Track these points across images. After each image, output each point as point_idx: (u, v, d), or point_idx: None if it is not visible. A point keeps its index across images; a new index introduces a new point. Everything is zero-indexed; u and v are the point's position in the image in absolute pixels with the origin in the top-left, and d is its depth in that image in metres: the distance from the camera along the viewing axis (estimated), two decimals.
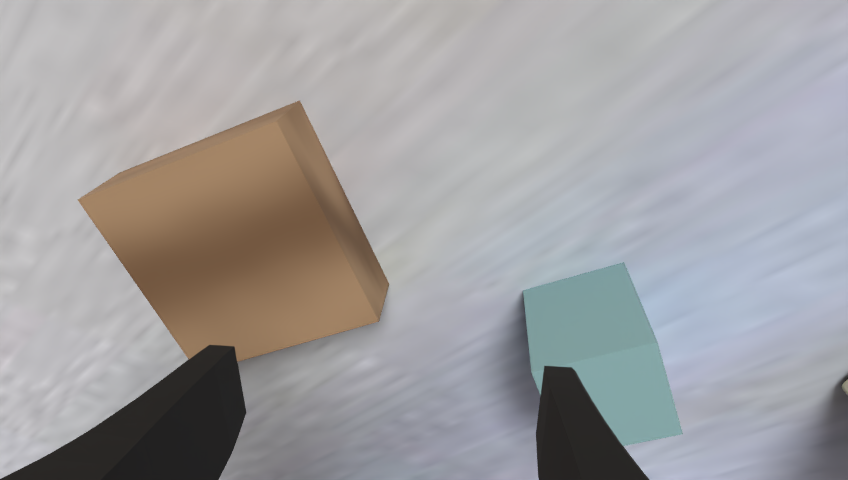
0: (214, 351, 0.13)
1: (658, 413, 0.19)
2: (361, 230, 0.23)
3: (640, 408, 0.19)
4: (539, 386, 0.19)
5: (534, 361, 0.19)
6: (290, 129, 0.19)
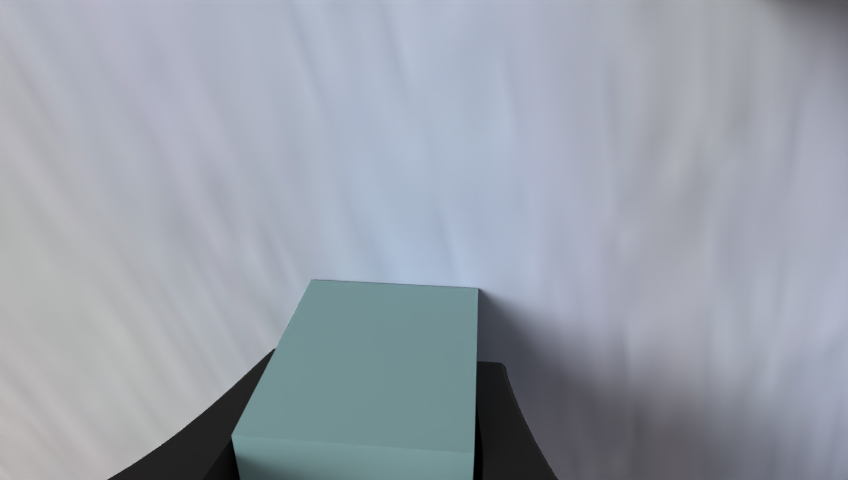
0: None
1: (403, 473, 0.10)
2: None
3: None
4: None
5: None
6: None
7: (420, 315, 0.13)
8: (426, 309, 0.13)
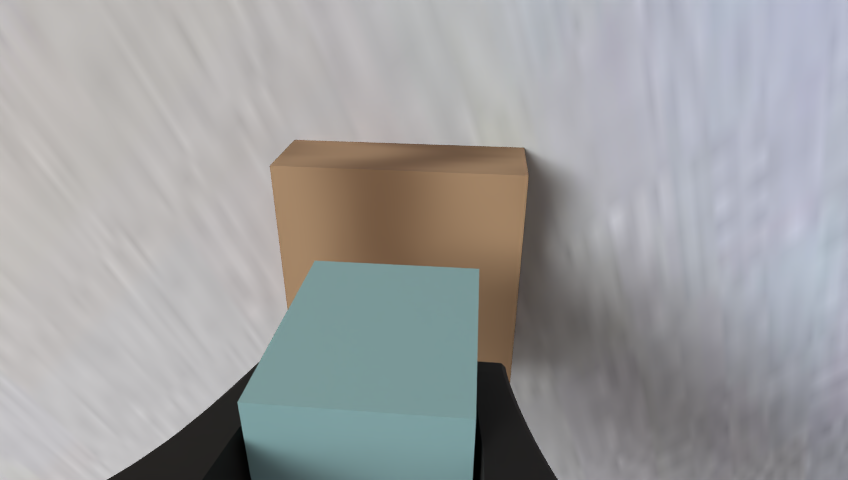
0: None
1: (406, 440, 0.10)
2: (445, 146, 0.20)
3: (384, 460, 0.10)
4: None
5: None
6: (292, 158, 0.19)
7: (422, 293, 0.13)
8: (428, 287, 0.13)
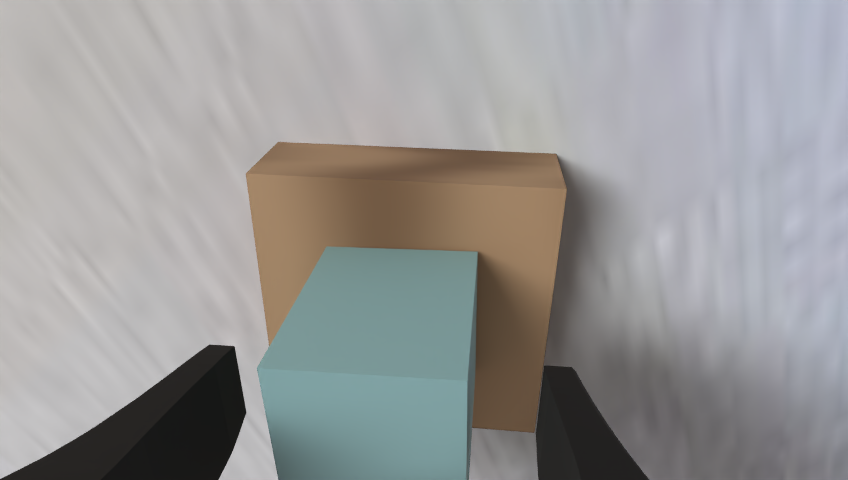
0: (214, 351, 0.13)
1: (406, 401, 0.11)
2: (461, 151, 0.17)
3: (387, 419, 0.11)
4: None
5: None
6: (274, 164, 0.15)
7: (424, 274, 0.14)
8: (429, 269, 0.14)
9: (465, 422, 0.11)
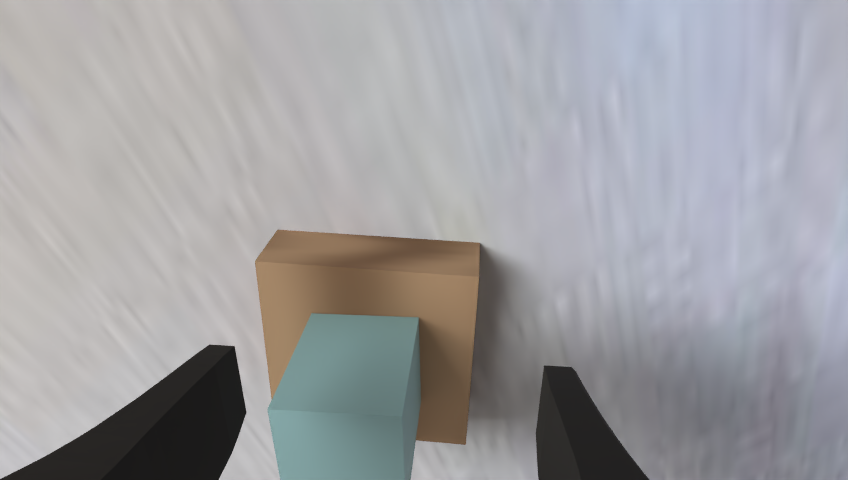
0: (214, 351, 0.13)
1: (364, 429, 0.17)
2: (411, 239, 0.23)
3: (352, 440, 0.18)
4: None
5: None
6: (275, 253, 0.22)
7: (379, 336, 0.20)
8: (384, 332, 0.21)
9: (402, 441, 0.17)
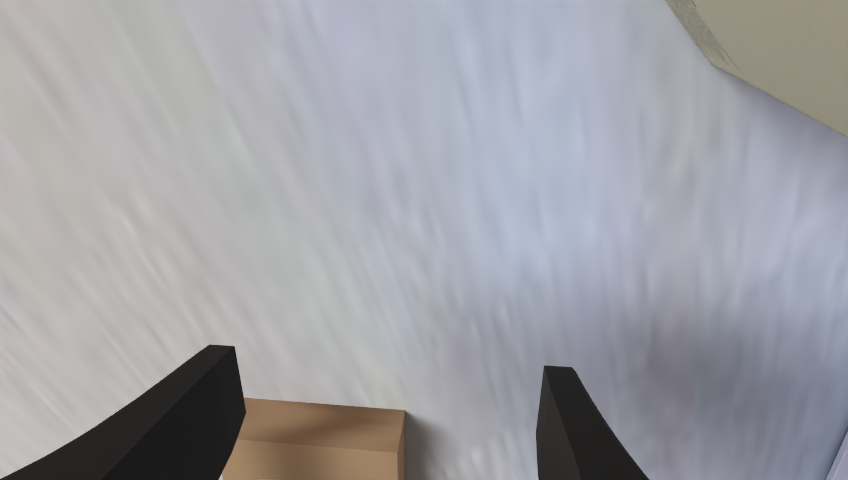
0: (215, 351, 0.13)
1: None
2: (348, 406, 0.27)
3: None
4: None
5: None
6: None
7: None
8: None
9: None
